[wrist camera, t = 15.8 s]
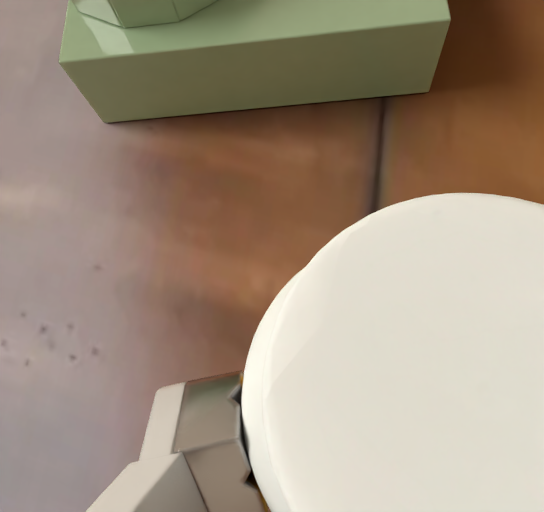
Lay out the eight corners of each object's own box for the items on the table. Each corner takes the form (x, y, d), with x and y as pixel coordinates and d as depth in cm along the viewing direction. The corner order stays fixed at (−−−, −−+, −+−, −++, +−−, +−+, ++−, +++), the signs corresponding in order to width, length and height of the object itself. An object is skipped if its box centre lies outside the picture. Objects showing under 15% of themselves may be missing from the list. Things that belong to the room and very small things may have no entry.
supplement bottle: (280, 318, 14) (197, 142, 5) (460, 312, 14) (715, 104, 5) (283, 516, 12) (166, 769, 3) (491, 518, 12) (1010, 830, 3)
